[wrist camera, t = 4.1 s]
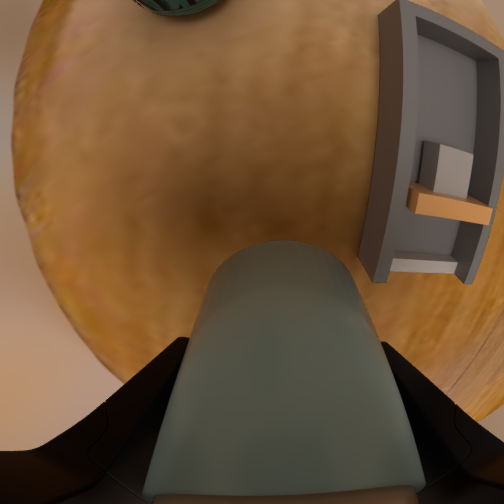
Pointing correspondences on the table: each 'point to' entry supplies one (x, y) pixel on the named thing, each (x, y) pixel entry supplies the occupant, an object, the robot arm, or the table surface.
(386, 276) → the gray rectangular tray
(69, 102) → the table surface
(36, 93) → the table surface
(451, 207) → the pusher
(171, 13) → the beverage bottle
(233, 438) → the jar
